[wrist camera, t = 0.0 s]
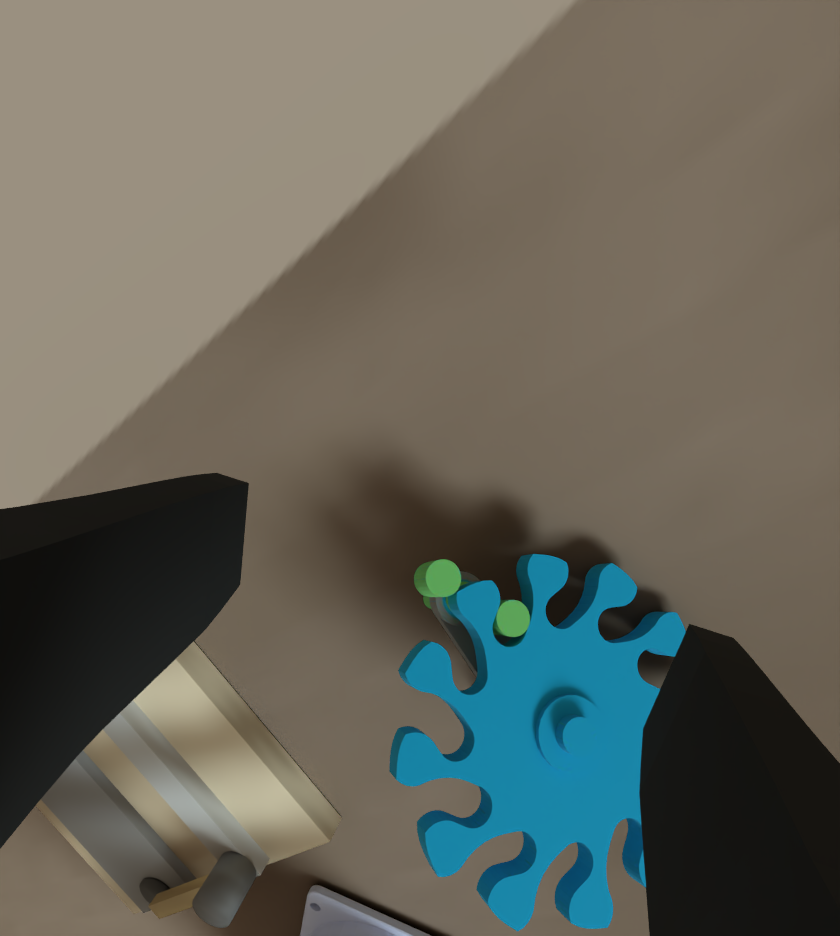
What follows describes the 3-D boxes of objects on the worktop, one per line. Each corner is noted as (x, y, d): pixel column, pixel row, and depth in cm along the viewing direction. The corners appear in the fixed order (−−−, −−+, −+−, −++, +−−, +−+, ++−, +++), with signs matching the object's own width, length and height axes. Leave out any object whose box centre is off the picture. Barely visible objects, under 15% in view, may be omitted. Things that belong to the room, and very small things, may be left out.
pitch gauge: (341, 817, 27) (299, 906, 24) (149, 892, 34) (93, 970, 30) (125, 560, 26) (45, 613, 22) (-33, 690, 32) (-115, 747, 29)
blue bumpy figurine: (793, 766, 18) (551, 1046, 15) (666, 727, 24) (468, 926, 21) (583, 455, 19) (298, 665, 15) (504, 489, 24) (283, 647, 21)
